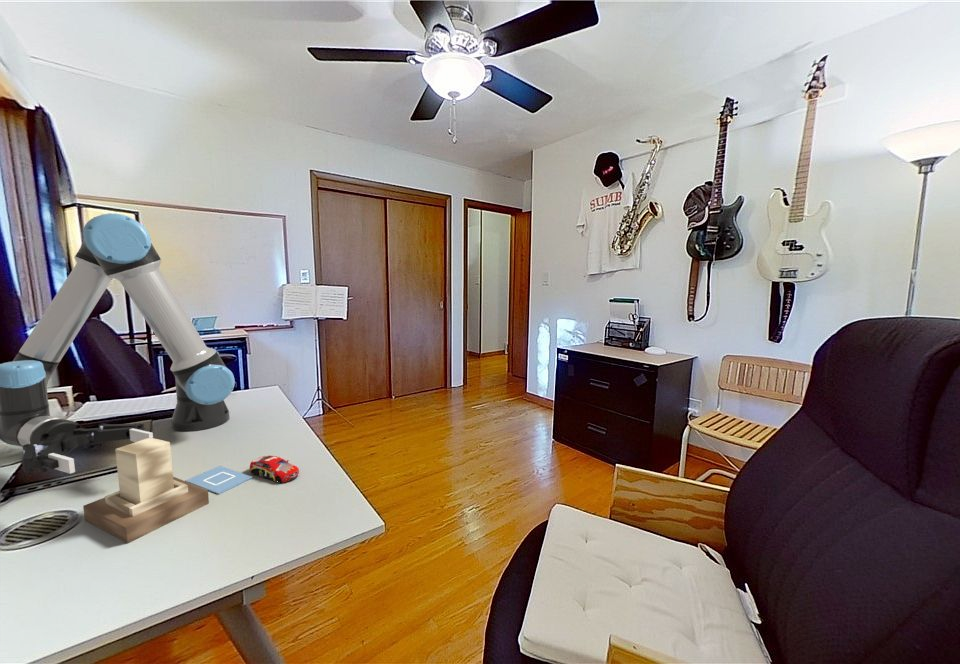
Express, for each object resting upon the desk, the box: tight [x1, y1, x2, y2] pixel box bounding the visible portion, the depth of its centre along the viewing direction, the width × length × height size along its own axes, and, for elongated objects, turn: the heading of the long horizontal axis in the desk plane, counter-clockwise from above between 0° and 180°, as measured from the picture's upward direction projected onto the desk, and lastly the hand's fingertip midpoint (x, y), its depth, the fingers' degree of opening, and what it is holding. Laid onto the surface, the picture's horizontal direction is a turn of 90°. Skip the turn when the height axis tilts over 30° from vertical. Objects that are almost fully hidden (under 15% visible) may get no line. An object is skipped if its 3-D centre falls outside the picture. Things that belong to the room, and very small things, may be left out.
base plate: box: [82, 476, 210, 544], centre depth 79 cm, size 14×15×4 cm
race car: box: [249, 455, 300, 483], centre depth 95 cm, size 13×5×4 cm, turn 65°
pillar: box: [114, 437, 174, 505], centre depth 78 cm, size 6×6×11 cm
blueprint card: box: [184, 465, 254, 495], centre depth 92 cm, size 8×12×1 cm, turn 66°
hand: (114, 451), depth 81 cm, fingers open, 13 cm apart
